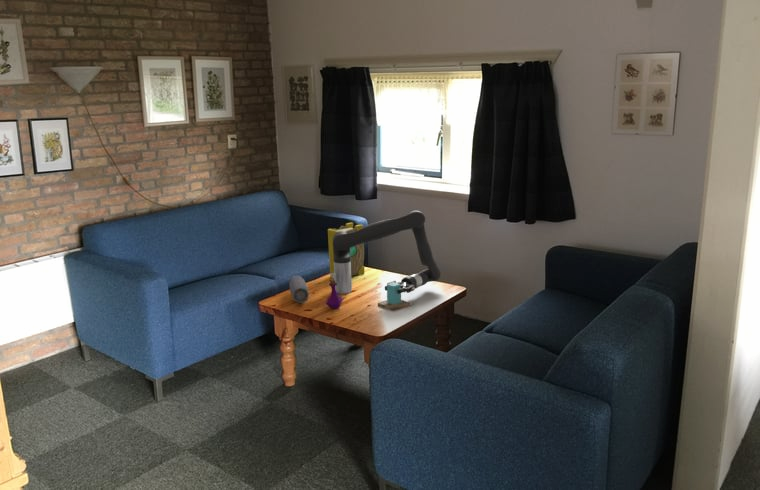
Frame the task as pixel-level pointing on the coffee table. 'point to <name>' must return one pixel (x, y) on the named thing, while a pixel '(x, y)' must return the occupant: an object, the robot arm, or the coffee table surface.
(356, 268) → the decorative book
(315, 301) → the coffee table surface
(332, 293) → the purple potion bottle
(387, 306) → the walnut base plate
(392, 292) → the tall teal pillar
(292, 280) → the bluetooth speaker
